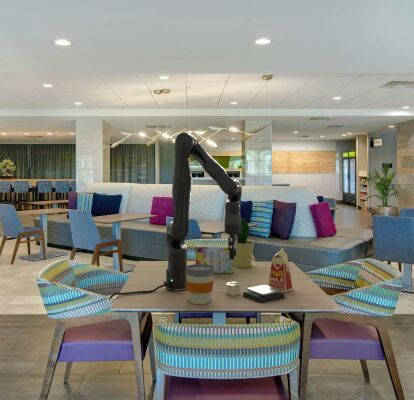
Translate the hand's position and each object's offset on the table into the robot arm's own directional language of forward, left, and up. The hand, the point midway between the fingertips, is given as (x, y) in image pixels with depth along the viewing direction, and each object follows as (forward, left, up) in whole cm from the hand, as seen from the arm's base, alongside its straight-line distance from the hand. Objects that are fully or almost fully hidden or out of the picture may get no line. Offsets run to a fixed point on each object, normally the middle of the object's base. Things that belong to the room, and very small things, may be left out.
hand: (232, 257), depth 189 cm
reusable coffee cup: (-20, -3, -17) cm, 26 cm away
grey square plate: (+8, -13, -14) cm, 20 cm away
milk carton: (+23, -8, -17) cm, 29 cm away
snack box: (+17, +39, -17) cm, 46 cm away
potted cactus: (+42, +45, -17) cm, 64 cm away
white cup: (-1, -2, -17) cm, 17 cm away
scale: (+8, -13, -17) cm, 22 cm away
